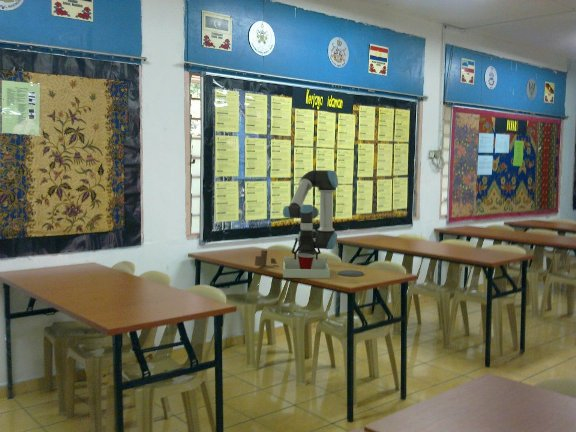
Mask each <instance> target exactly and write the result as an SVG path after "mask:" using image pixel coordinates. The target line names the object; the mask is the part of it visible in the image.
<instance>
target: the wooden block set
mask: <svg viewBox="0 0 576 432" xmlns="http://www.w3.org/2000/svg"><path fill="white" fill-rule="evenodd" d="M254 258H255V259H254V260H255V261H254V266H256V267H257V266H258V267H266V266H267V259H268V250H267V249H261V250H260V255H256V256H255V257H254ZM277 262H278V261H277V260H276V259H275V258H272V257H270V264H274V265H277V264H278V263H277Z"/></svg>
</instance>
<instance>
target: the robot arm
mask: <svg viewBox="0 0 576 432" xmlns="http://www.w3.org/2000/svg"><path fill="white" fill-rule="evenodd" d="M338 177H339V176H338V174H337V172H336V170H330V169H327V170H323V169H313V170H310V171H308V172H307V173H305V174H303V176H301V178H299V181H298V187H297V189H296V191H295V193H294V194H293V197H292V200H291V201H290V204H289V205H285V206H284V207H283V209H282V215H283V217H284V218H288V219H300V231H299V232H298V237H295V239H294V240H295V241H294V244H293V246H292V249H291V254H293V257H294V259H296V265H297V257H298V255H297V254H300V253H305V254H312V255H314V256H315V257H314V265H316V260H317V259H318V258H319V255H320V254H321V253H322V252H321V250H322V249H323V250H333V249H334V248H335V247H336V245H337V241H338V233H337V232H336V231H335V228H334V227H333V208H334V204H333V203H334V201H333V200H334V195H333V194H334V193H335V192H336V188H338V186H339V179H338ZM312 188H317V190H318V192H319V195H320V196H319V198H320V199H319V200H320V202H319V209H318V207H316V206H313V205H312V204H304V202H305V199H306V197H307V196H308V193H309V191H310V190H311V189H312ZM317 217H319V228H317V231H316V229H313V228H314V227H313V223H314V222H313V220H314V219H316V218H317ZM297 245H298V247H297ZM296 247H297V248H296ZM295 249H296V250H295Z"/></svg>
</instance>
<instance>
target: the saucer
mask: <svg viewBox="0 0 576 432" xmlns="http://www.w3.org/2000/svg"><path fill="white" fill-rule="evenodd" d="M364 274H365V273H364V272H363V271H361V270H350V269H346V270H345V269H344V270H339V271H337V275H339V276H343V277H353V278H354V277H363V276H364Z"/></svg>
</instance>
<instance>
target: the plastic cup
mask: <svg viewBox="0 0 576 432" xmlns="http://www.w3.org/2000/svg"><path fill="white" fill-rule="evenodd" d="M297 255H298V259H299V265H300V269H311V267H312V261H313V258H314V257H315V256H314V255H312V254H305V253H300V254H298V253H297Z"/></svg>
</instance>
